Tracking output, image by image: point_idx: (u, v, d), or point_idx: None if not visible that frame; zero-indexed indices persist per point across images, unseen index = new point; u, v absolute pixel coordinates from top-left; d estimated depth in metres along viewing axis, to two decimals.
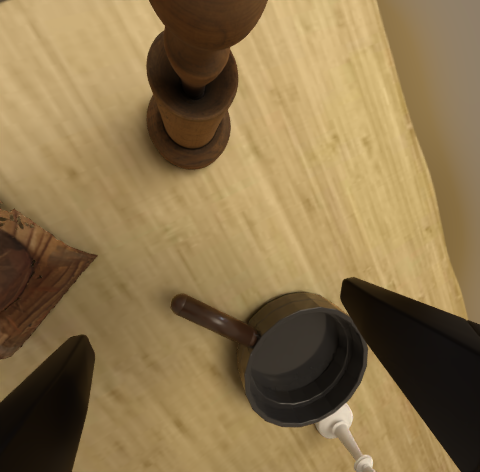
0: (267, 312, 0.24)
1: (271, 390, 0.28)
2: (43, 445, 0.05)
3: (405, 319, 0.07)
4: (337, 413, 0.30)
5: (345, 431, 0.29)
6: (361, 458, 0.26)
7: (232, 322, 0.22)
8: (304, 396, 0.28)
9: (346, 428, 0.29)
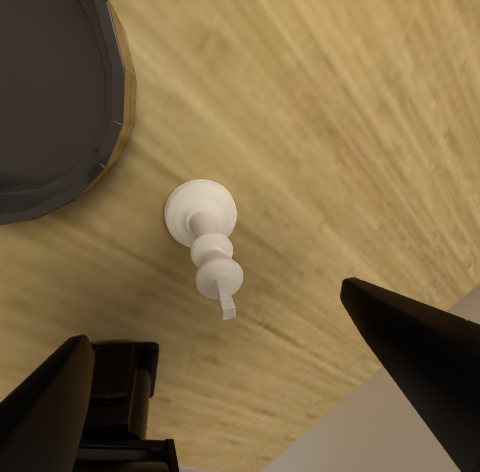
0: None
1: (6, 184, 0.13)
2: (43, 445, 0.05)
3: (405, 319, 0.07)
4: (189, 198, 0.16)
5: (199, 219, 0.15)
6: (197, 241, 0.12)
7: None
8: (69, 171, 0.13)
9: (204, 215, 0.15)
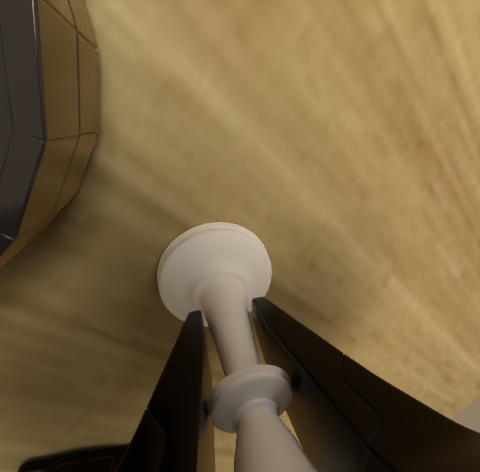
0: None
1: None
2: (207, 399, 0.06)
3: (285, 350, 0.06)
4: (199, 257, 0.09)
5: (218, 300, 0.08)
6: (222, 388, 0.06)
7: None
8: None
9: (225, 290, 0.09)
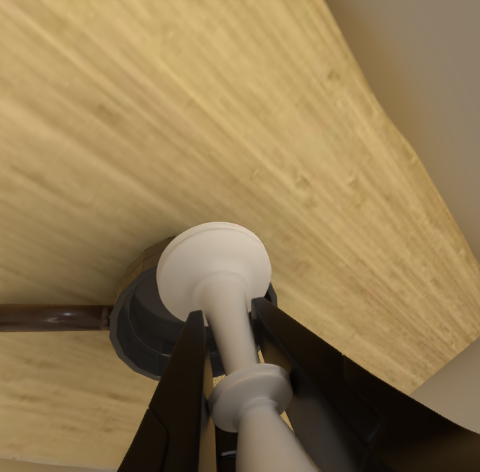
0: (123, 280, 0.19)
1: None
2: None
3: (284, 350, 0.06)
4: (198, 257, 0.09)
5: (218, 299, 0.08)
6: (223, 387, 0.06)
7: (63, 314, 0.17)
8: None
9: (225, 289, 0.09)
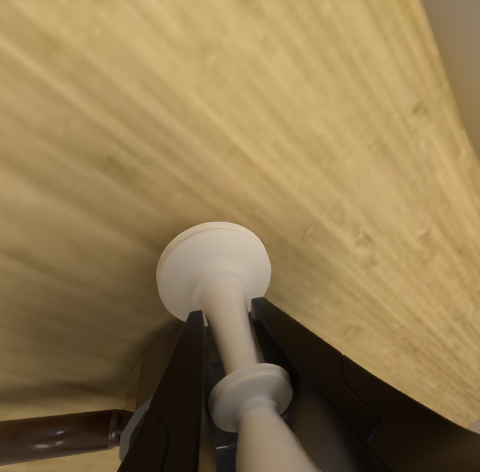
0: (136, 377, 0.14)
1: None
2: None
3: (284, 351, 0.06)
4: (198, 257, 0.09)
5: (218, 299, 0.08)
6: (223, 387, 0.06)
7: (57, 437, 0.12)
8: None
9: (224, 289, 0.09)
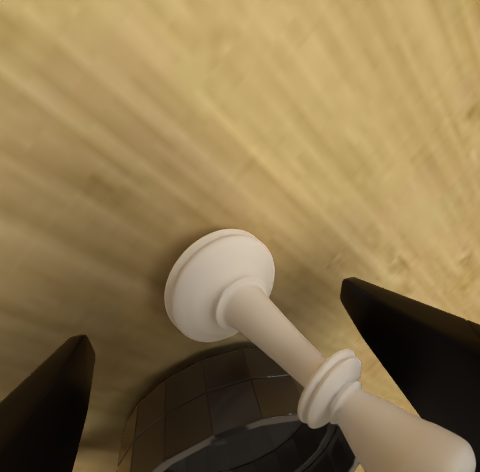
0: (130, 437, 0.12)
1: None
2: (43, 445, 0.05)
3: (405, 319, 0.07)
4: (215, 268, 0.09)
5: (251, 306, 0.08)
6: (316, 383, 0.06)
7: None
8: (277, 471, 0.17)
9: (253, 295, 0.09)
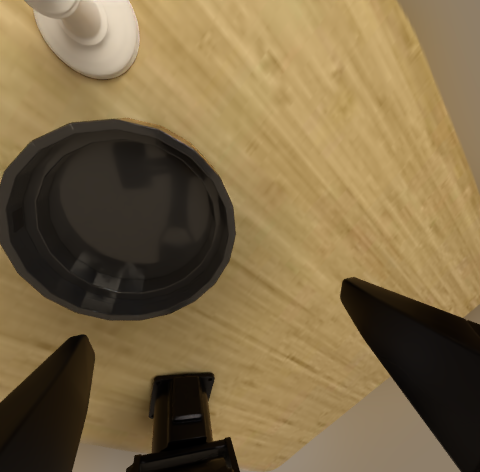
0: None
1: (137, 280, 0.20)
2: (43, 445, 0.05)
3: (405, 319, 0.07)
4: None
5: None
6: None
7: None
8: (181, 275, 0.20)
9: None
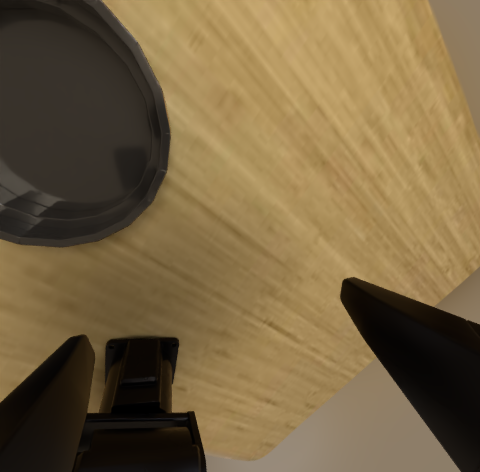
0: None
1: (68, 211, 0.17)
2: (43, 445, 0.05)
3: (405, 319, 0.07)
4: None
5: None
6: None
7: None
8: (119, 202, 0.17)
9: None
